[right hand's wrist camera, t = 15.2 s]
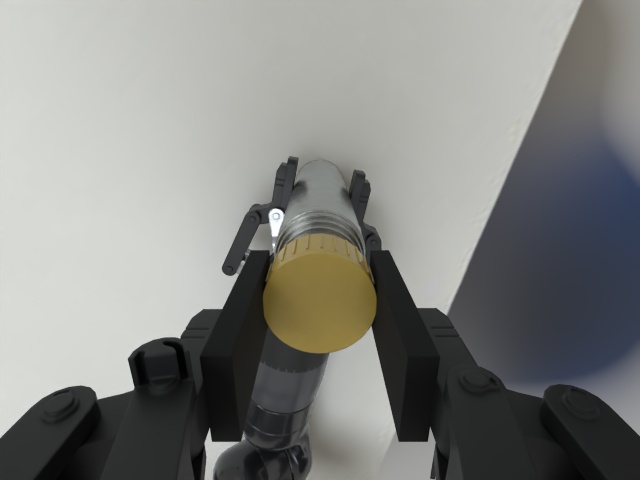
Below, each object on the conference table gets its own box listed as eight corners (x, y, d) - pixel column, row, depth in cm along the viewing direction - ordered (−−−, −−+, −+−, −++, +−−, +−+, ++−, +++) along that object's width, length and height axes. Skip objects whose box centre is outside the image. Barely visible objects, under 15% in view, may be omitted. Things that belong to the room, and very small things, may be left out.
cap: (282, 332, 16) (277, 363, 14) (255, 243, 14) (246, 264, 12) (378, 314, 15) (386, 344, 13) (361, 222, 14) (368, 240, 12)
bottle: (295, 206, 34) (260, 348, 14) (296, 158, 33) (257, 242, 12) (342, 207, 34) (374, 352, 14) (344, 160, 33) (386, 246, 12)
